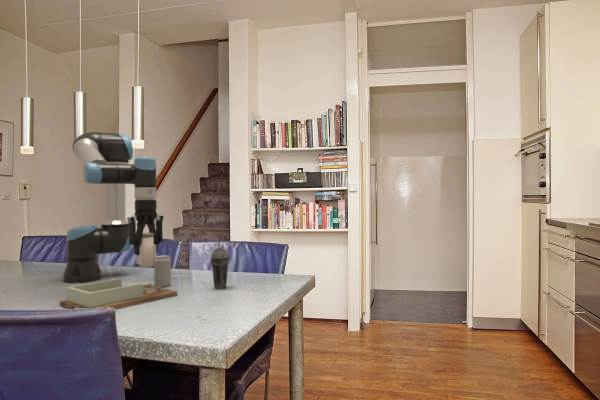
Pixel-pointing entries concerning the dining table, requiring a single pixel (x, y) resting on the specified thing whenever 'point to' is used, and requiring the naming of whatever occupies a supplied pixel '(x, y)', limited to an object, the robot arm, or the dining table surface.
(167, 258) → the beverage can
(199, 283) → the dining table surface
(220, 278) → the beverage cup
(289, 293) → the dining table surface
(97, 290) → the pale green open frame
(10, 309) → the dining table surface
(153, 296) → the board
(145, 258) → the beige rounded cylinder
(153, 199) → the robot arm
